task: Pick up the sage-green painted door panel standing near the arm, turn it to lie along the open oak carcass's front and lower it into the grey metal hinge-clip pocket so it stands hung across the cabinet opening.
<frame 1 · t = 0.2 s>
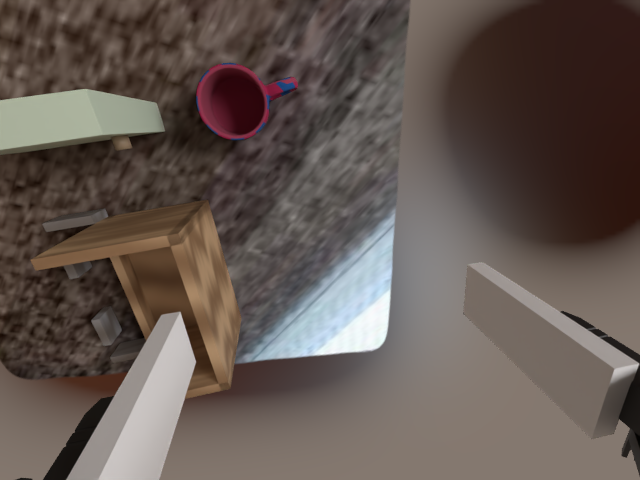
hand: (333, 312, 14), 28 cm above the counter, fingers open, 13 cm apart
mug: (254, 104, 36), on the counter
carcass: (180, 271, 41), on the counter
door: (91, 127, 34), on the counter
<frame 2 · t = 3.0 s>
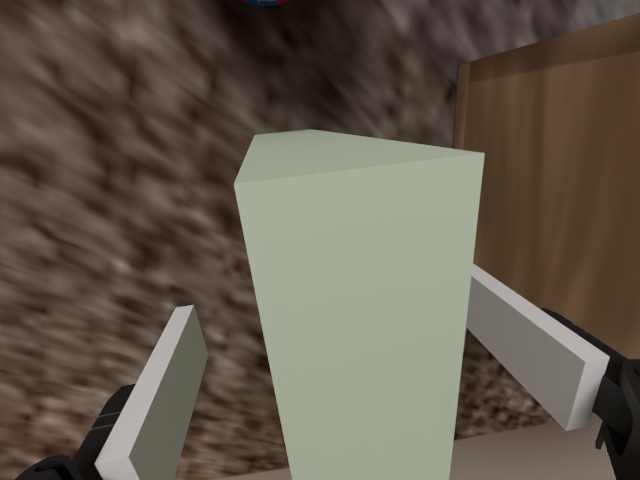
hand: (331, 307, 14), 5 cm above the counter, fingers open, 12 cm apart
carcass: (576, 158, 20), on the counter
door: (299, 257, 19), on the counter
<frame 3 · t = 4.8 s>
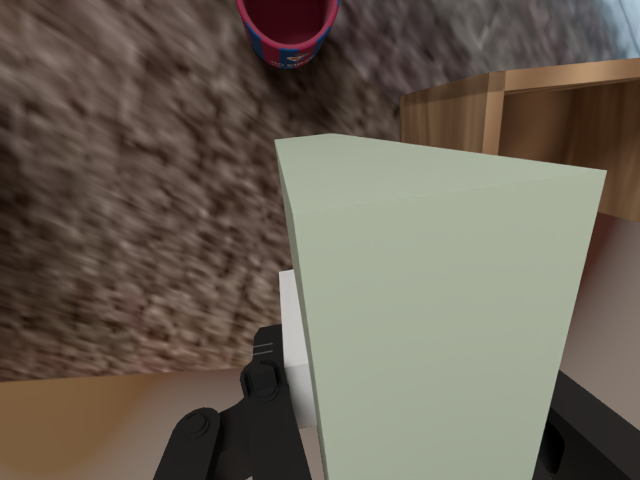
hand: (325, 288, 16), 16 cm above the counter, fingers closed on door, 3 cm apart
mug: (281, 1, 25), on the counter
carcass: (484, 151, 32), on the counter
door: (318, 266, 18), point 14 cm above the counter, touching gripper
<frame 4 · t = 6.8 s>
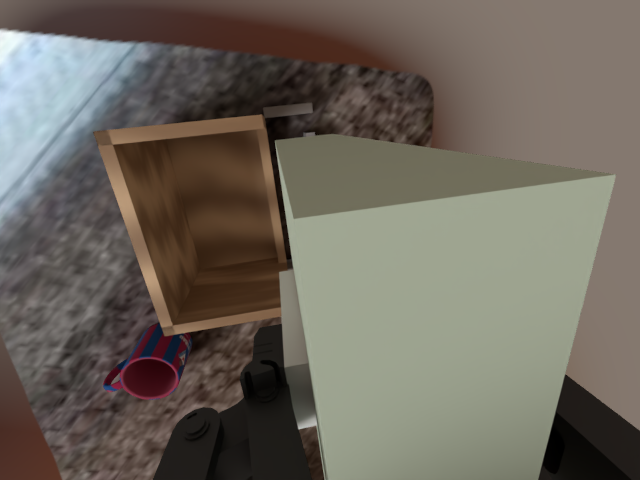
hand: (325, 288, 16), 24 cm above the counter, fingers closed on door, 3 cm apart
mug: (156, 343, 43), on the counter
carcass: (228, 201, 38), on the counter
door: (318, 267, 18), point 22 cm above the counter, touching gripper
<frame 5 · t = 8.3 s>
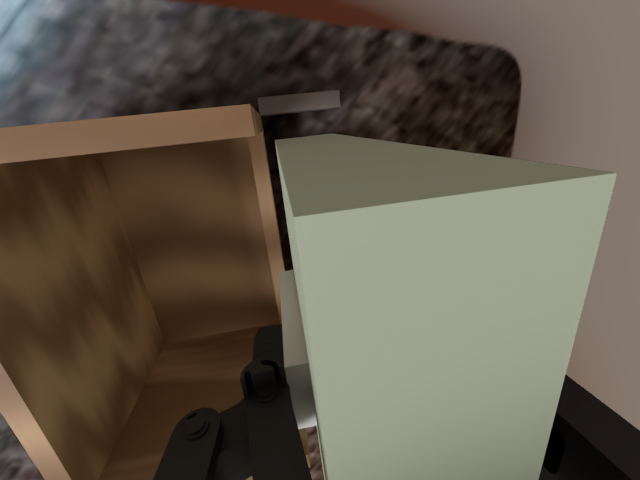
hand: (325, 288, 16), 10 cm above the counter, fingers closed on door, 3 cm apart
carcass: (205, 243, 25), on the counter
door: (318, 267, 18), point 8 cm above the counter, touching gripper
when the fingers open (4 cm above the counter, at t = 9.8 s): door drops 2 cm, on the counter.
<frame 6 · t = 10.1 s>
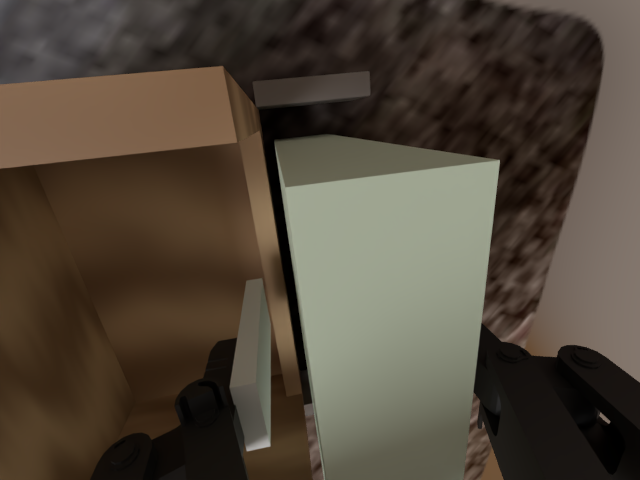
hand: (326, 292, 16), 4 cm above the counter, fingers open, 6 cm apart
carcass: (186, 277, 19), on the counter
door: (314, 258, 20), on the counter
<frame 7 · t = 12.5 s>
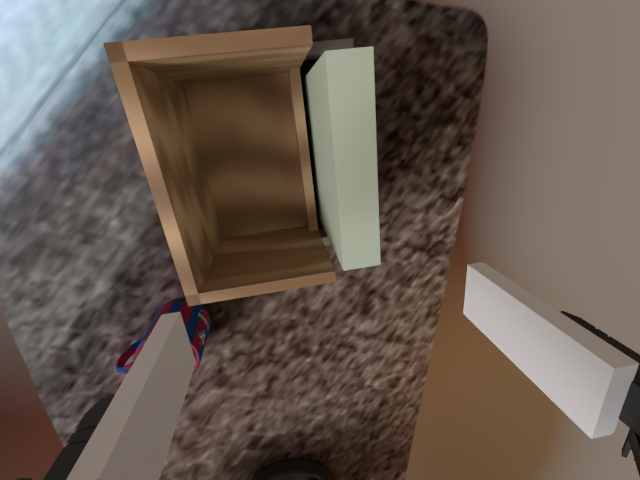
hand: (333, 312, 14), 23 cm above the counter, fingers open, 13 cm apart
mug: (172, 323, 40), on the counter
carcass: (252, 160, 33), on the counter
door: (325, 152, 34), on the counter
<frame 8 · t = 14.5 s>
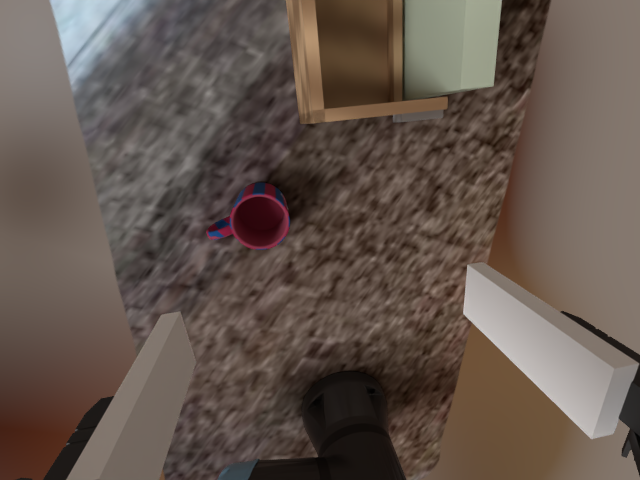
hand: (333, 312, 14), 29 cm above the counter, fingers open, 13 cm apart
mug: (249, 209, 41), on the counter
carcass: (342, 35, 35), on the counter
door: (408, 30, 36), on the counter
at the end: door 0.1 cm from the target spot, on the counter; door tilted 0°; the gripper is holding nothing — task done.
